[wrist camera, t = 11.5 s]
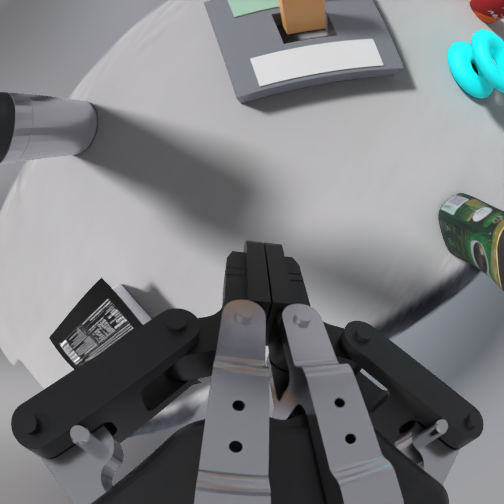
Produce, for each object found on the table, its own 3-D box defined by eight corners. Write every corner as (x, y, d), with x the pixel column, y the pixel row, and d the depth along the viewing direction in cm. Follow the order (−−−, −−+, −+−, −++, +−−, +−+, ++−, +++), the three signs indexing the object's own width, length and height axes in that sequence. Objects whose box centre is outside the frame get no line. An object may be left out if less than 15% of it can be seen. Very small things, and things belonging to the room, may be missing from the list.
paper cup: (484, 31, 21) (528, 13, 7) (459, -2, 19) (497, -28, 6) (499, 24, 18) (539, 9, 5) (475, -7, 17) (511, -28, 4)
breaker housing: (392, 75, 28) (404, 67, 24) (241, 103, 32) (236, 97, 28) (352, -11, 24) (358, -24, 20) (210, 14, 28) (203, 1, 24)
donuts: (487, 79, 18) (471, 17, 15) (448, 90, 27) (439, 36, 24) (528, 102, 17) (515, 43, 14) (490, 105, 26) (482, 55, 23)
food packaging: (123, 414, 47) (47, 339, 42) (135, 392, 54) (66, 321, 49) (200, 385, 40) (98, 279, 35) (210, 356, 47) (123, 261, 42)
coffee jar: (479, 235, 34) (551, 280, 17) (447, 259, 36) (515, 317, 19) (464, 184, 32) (548, 210, 15) (430, 207, 34) (512, 247, 17)
